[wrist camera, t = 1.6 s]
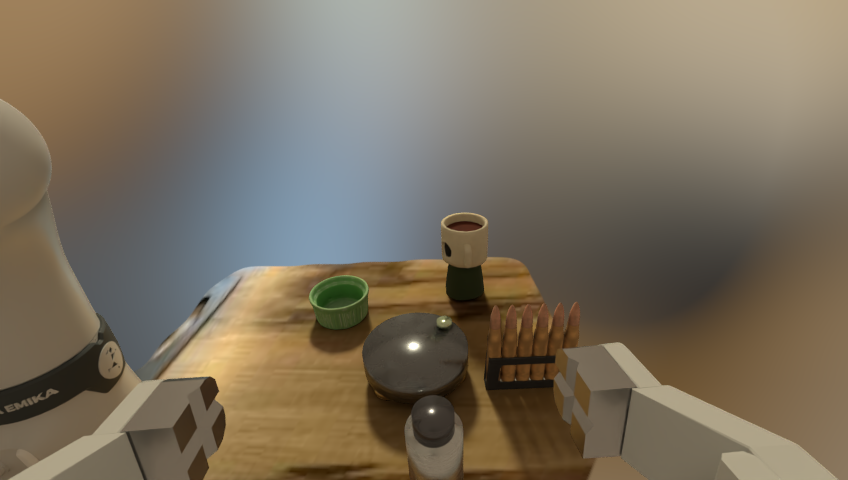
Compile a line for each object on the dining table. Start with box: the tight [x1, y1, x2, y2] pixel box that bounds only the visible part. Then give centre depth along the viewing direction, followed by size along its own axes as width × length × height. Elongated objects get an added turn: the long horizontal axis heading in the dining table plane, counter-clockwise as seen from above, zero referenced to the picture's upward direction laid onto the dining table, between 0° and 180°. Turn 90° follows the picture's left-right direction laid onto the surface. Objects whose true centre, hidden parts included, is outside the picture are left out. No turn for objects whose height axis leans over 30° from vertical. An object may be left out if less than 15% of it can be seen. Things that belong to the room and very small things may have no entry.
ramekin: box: [309, 275, 369, 330], centre depth 62 cm, size 9×9×4 cm
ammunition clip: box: [484, 302, 580, 390], centre depth 47 cm, size 11×2×12 cm, turn 90°
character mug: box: [441, 213, 488, 300], centre depth 63 cm, size 11×7×13 cm, turn 0°
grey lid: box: [362, 313, 468, 404], centre depth 51 cm, size 13×13×5 cm
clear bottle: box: [405, 395, 463, 480], centre depth 36 cm, size 5×5×11 cm
